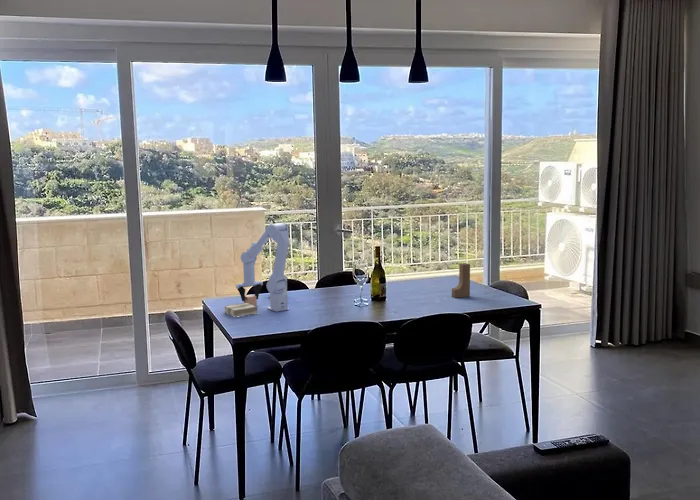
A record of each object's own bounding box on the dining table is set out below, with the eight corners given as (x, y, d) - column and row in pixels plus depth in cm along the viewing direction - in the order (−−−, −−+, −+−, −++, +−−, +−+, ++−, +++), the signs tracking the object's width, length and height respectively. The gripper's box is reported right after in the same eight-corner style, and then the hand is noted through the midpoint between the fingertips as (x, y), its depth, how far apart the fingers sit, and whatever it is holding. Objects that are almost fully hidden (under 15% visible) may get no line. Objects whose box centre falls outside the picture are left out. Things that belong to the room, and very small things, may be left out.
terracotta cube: (256, 305, 355) (256, 296, 354) (248, 306, 352) (247, 297, 351) (252, 303, 359) (252, 294, 358) (243, 304, 356) (243, 295, 355)
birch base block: (257, 314, 336) (257, 306, 335) (235, 318, 329) (234, 310, 328) (246, 310, 345) (246, 302, 345) (225, 313, 339) (224, 305, 338)
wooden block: (455, 298, 364) (455, 265, 361) (451, 296, 368) (451, 264, 365) (470, 296, 367) (470, 264, 364) (466, 295, 371) (466, 262, 368)
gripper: (258, 271, 360) (258, 296, 362) (233, 275, 352) (234, 300, 354) (264, 273, 354) (264, 299, 356) (239, 277, 346) (239, 302, 348)
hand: (249, 300), depth 355 cm, fingers open, 7 cm apart
